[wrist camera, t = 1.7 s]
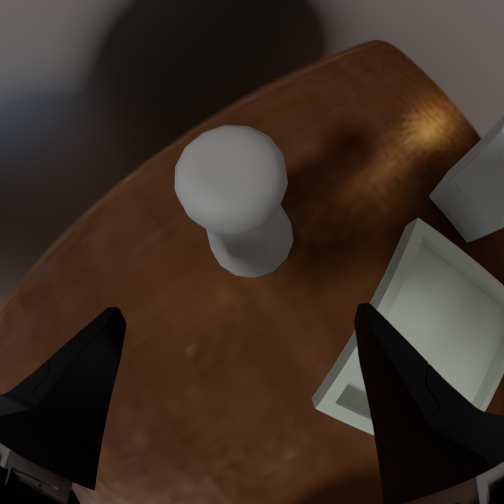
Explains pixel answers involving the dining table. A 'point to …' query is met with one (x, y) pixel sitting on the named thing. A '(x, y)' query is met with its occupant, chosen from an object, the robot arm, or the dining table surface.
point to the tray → (429, 324)
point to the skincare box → (475, 188)
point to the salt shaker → (237, 197)
